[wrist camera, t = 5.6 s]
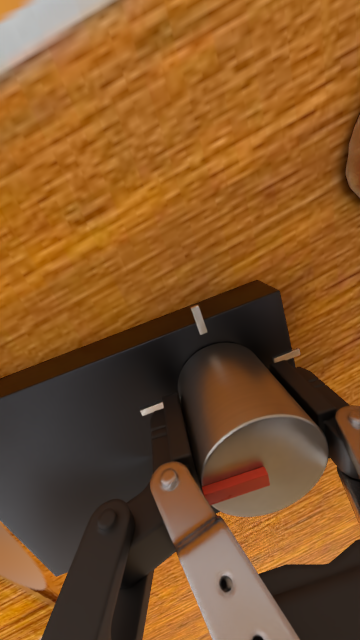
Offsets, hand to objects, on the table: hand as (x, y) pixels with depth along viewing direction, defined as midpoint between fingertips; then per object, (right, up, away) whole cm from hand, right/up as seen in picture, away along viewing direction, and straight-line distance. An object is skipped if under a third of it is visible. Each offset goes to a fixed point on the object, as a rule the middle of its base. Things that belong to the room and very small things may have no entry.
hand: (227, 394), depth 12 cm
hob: (-4, -3, +4) cm, 7 cm away
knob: (0, 0, +1) cm, 1 cm away
